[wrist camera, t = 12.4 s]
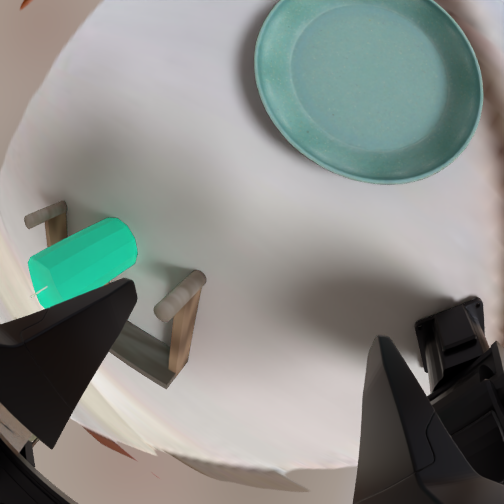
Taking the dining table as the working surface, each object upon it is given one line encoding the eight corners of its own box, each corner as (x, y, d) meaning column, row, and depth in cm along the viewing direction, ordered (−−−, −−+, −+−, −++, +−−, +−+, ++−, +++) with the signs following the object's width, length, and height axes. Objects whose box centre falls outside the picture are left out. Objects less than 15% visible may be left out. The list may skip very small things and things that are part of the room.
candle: (125, 277, 30) (48, 336, 20) (94, 239, 30) (14, 286, 19) (145, 247, 27) (53, 310, 17) (110, 205, 27) (15, 251, 16)
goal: (60, 199, 30) (23, 214, 24) (207, 274, 26) (171, 311, 20) (68, 283, 36) (40, 302, 31) (189, 362, 32) (164, 396, 27)
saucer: (395, -32, 10) (398, -48, 7) (497, 139, 13) (514, 142, 10) (230, 41, 17) (214, 32, 14) (327, 209, 20) (323, 220, 17)
